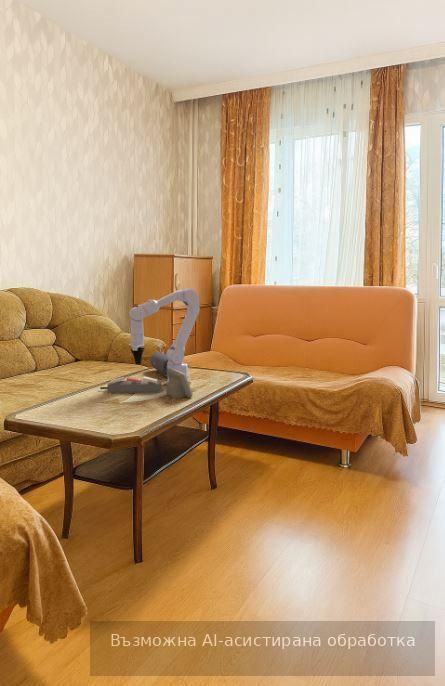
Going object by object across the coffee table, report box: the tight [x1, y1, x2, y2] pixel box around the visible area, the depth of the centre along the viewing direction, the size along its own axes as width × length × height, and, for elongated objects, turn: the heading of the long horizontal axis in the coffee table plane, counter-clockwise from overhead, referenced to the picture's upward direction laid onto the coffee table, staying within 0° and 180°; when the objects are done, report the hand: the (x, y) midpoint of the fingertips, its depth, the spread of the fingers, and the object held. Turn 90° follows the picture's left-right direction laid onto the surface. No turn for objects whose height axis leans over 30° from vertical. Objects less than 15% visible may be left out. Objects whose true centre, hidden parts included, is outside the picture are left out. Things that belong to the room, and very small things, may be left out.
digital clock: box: [165, 368, 194, 399], centre depth 217 cm, size 16×9×11 cm, turn 17°
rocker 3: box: [142, 376, 158, 383], centre depth 224 cm, size 6×3×1 cm, turn 90°
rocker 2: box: [126, 376, 143, 383], centre depth 224 cm, size 6×3×1 cm, turn 90°
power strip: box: [99, 379, 162, 394], centre depth 226 cm, size 26×8×4 cm, turn 89°
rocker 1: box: [109, 376, 126, 383], centre depth 224 cm, size 6×3×1 cm, turn 88°
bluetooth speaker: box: [149, 351, 168, 377], centre depth 261 cm, size 23×9×10 cm, turn 23°
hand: (138, 364), depth 235 cm, fingers closed
